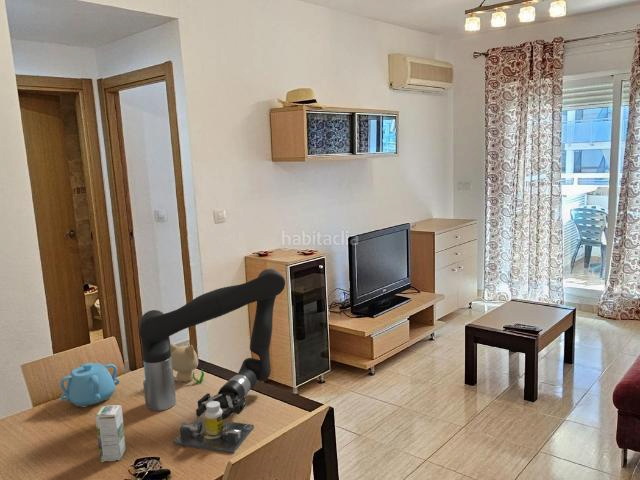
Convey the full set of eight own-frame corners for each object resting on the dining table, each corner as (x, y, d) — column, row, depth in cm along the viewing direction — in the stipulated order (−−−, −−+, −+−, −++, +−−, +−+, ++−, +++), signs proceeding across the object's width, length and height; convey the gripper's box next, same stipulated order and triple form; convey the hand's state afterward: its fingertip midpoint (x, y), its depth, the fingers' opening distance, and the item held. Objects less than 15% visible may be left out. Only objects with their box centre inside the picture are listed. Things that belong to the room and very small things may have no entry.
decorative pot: (97, 412, 175) (92, 375, 172) (57, 409, 178) (51, 372, 176) (125, 390, 190) (121, 356, 188) (87, 387, 194) (83, 353, 192)
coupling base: (173, 444, 153) (171, 430, 152) (197, 420, 166) (196, 407, 165) (233, 453, 147) (232, 438, 146) (254, 427, 160) (253, 414, 159)
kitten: (210, 376, 199) (207, 339, 196) (197, 387, 189) (193, 349, 187) (177, 372, 203) (173, 337, 201) (162, 384, 194) (158, 346, 191)
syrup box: (106, 451, 151) (100, 405, 149) (127, 449, 152) (121, 404, 149) (100, 462, 146) (93, 415, 143) (121, 460, 146) (115, 413, 143)
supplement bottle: (220, 439, 152) (217, 409, 150) (203, 438, 153) (200, 408, 151) (227, 429, 157) (224, 400, 155) (210, 428, 158) (208, 399, 156)
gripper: (214, 377, 169) (188, 401, 153) (254, 381, 164) (230, 406, 149) (216, 399, 170) (190, 424, 155) (255, 403, 166) (232, 429, 150)
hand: (210, 415), depth 152 cm, fingers open, 8 cm apart
